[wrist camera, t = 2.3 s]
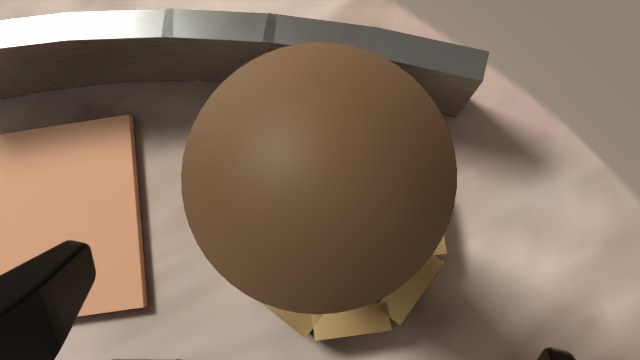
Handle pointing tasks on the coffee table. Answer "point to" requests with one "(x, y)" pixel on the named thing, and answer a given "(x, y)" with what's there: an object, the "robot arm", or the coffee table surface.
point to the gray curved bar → (207, 50)
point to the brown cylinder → (322, 187)
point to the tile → (76, 204)
